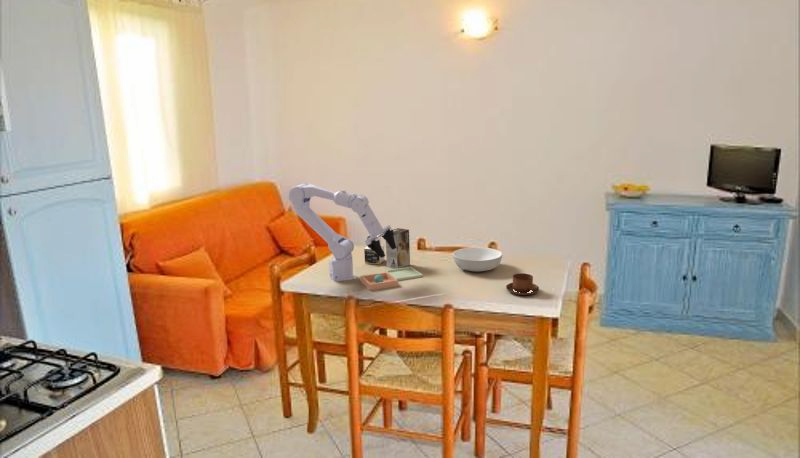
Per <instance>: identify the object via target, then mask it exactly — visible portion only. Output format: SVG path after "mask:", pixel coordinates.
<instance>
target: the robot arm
mask: <svg viewBox="0 0 800 458" xmlns="http://www.w3.org/2000/svg"><path fill="white" fill-rule="evenodd" d="M312 197H317V198H321V199H327V200H329V201H332V202H333V203H334V204H335V205H337V206H341V207H344V208H348V209H351V211H352V212H354V213H355V214H357V215H358V216H357V217H358V218H359V219H360V221H361V222H362V224H363V226H364V228H366V231H367V233H368V234H369V236H371V237H370V238H368V239H367V238H366V240H364V244H365V245H366V247H367V246H368V248H370V249H372V250H373V251H375V252H376V253H377V254H378V255H379V256H380V257H381V258H382V257H384V256H385V257H386V254H385V253H386V252H385V250H384V251H383V250H382V248H381V245H382V244H381V245H380V242H379V240H377V241H375V240H376V239H378V238H379V237H381V238H382V239H383V240H385V242H386V241H387V243H388V244H389V246H390V247H391V248H392V250H393V249H395V248H397V247H396V244H395V241H394V231H393V230H394V229H392V227H391V225H390V224H389V225H386V226H385V227H383V226H382V225H381V223H380V221H379V220H378V218H377V216H376V214H375V213H374V212H373V209H372V208H371V206H370V205H369V203H370V202H369V201H370V200H369V199H368V197H366V196H365V195H363V194H359V195H357V193H351V192H347V191H346V190H345V189H342V190H338V191H337V192H335V191H332V190H329V189H326V188H324V187H321V186H317V185H315V184H313V183H307V182H302V183H300V184H298V185H296V186H295V185H294V186H292V187H290V189H289V192H288V199H289V201H290V202H291V204H292V206H293V208H294V211H295V214H296V215H298V216H299V217H300V219H302V220H303V222H305V223H306V224H307V225H308V226H309V227H310V228H311V229H312V230H313V231H315V232H316V233H317V235H319V236H320V237H321V238H322V239H323V240H324V241H325V242H326V243H327V245H328V246H327V247H328V249H329V251H331V254H332V256H333V258H331V259H329V260H328V270H329V271H328V272H329V278H330V279H331V280H332V281H333V282H334V283H336V282H341V281H343V282H344V281H349V280H350V281H351V280H356V279H357V277H356V276H355V275H354V268H353V267H354V266H353V265H354V264H353V262H354V261H353V253H352V252H353V251H354V249H355V246H354V242H353V241H352V240H351V239H349V238H346V237H345V236H343V235H341V234H339V233H337V232H336V231H335V230H334V229H333V228H332V227H331V226H329V224H328V223H326V221H324V220H323V218H321V217H320V216H319V215H318V214H317V213H316V212H315V211H314V210H312V208H311V206H310V205H311V204H310V202H311V199H312ZM377 236H378V237H377ZM376 237H377V238H376Z"/></svg>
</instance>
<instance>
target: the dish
mask: <svg viewBox="0 0 800 458" xmlns="http://www.w3.org/2000/svg"><path fill="white" fill-rule="evenodd" d="M376 275H381V276H382V277H383V282H379V283H376V282H375V281H374V278H375V276H376ZM359 277H360V278H359V279H360V283H361V284H362V285H363V286H364V287H366V288H367V289H368V291H375V290H382V289H388V288H394V287H398V286H399V281H398V280H397V279H396V278H394V277H393V276H392V275H391V274H389V273H388V272H385V271H384V272H378V273H371V274H366V275H365V274H364V275H360V276H359Z"/></svg>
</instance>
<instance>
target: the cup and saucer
mask: <svg viewBox="0 0 800 458" xmlns="http://www.w3.org/2000/svg"><path fill="white" fill-rule="evenodd" d="M533 279H534V277H533V275H532V274H529V273H515V274H513V275H512V282H511V283H508V284H506V285H505V287H506V290H507V291H508V292H510V293H511V294H514V295H518V296H519V295H520V296H532V295H534V294H536V293H538V291H540V290H539V289H540V287H539V285H537V284H534V281H533ZM513 289H514V290H515V291H517V292H514V291H513ZM530 290H532V291H533V292H531V293H527V292H529V291H530ZM519 292H520V293H519Z"/></svg>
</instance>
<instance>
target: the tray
mask: <svg viewBox="0 0 800 458" xmlns="http://www.w3.org/2000/svg"><path fill="white" fill-rule="evenodd" d="M384 272H388V273H389V274H391V275H392V276H393V277H394V278H396V279H397V280H398V282H399V281H405V280H410V279H418V278H423V277H424V275H423V273H421V272H420V271H418V270H417V269H415V268H414V267H412V266H404V267H401V268H398V269H395V268H392V269H391V268H390V269H386V270H384Z"/></svg>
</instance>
